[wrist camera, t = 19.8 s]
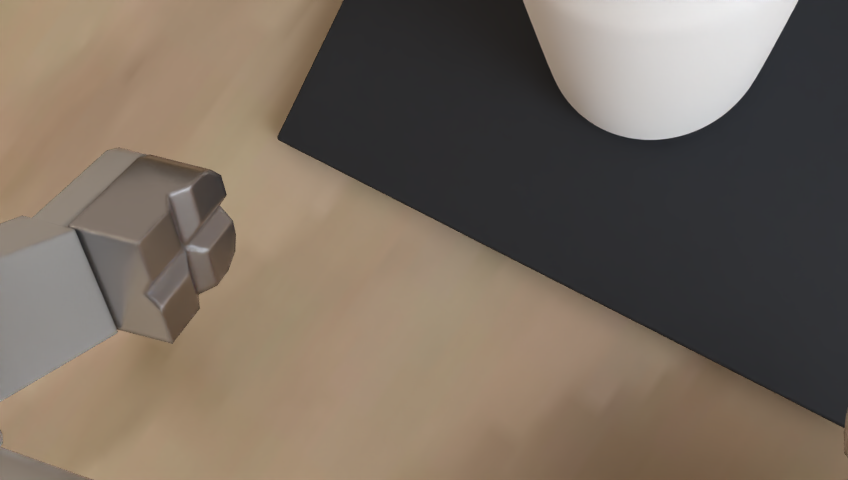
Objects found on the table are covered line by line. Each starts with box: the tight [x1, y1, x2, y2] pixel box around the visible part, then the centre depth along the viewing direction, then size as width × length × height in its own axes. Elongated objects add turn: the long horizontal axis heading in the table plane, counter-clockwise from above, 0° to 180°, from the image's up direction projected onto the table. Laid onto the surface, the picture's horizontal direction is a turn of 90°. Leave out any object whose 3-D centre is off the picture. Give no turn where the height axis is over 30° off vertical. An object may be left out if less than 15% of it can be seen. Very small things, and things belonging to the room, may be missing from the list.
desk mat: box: [278, 0, 848, 428], centre depth 25 cm, size 20×18×1 cm
